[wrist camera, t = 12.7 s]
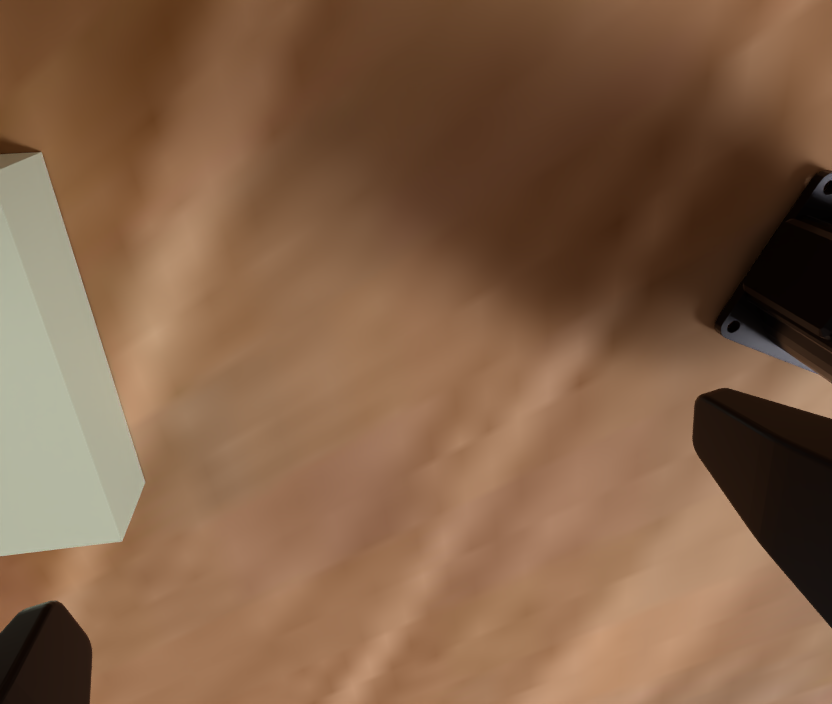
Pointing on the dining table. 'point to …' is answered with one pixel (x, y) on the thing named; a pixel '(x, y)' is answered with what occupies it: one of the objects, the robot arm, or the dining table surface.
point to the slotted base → (54, 385)
